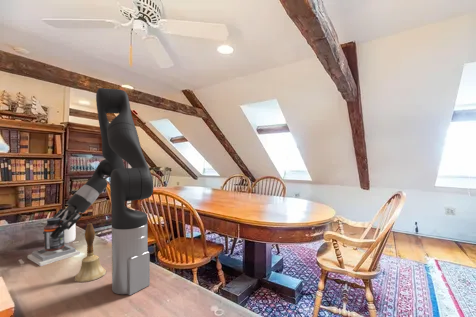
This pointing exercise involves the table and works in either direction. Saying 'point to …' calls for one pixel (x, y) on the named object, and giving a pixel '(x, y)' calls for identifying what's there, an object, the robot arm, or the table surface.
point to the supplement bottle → (49, 242)
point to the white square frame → (52, 255)
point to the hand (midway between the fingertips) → (48, 236)
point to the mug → (70, 234)
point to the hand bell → (90, 260)
